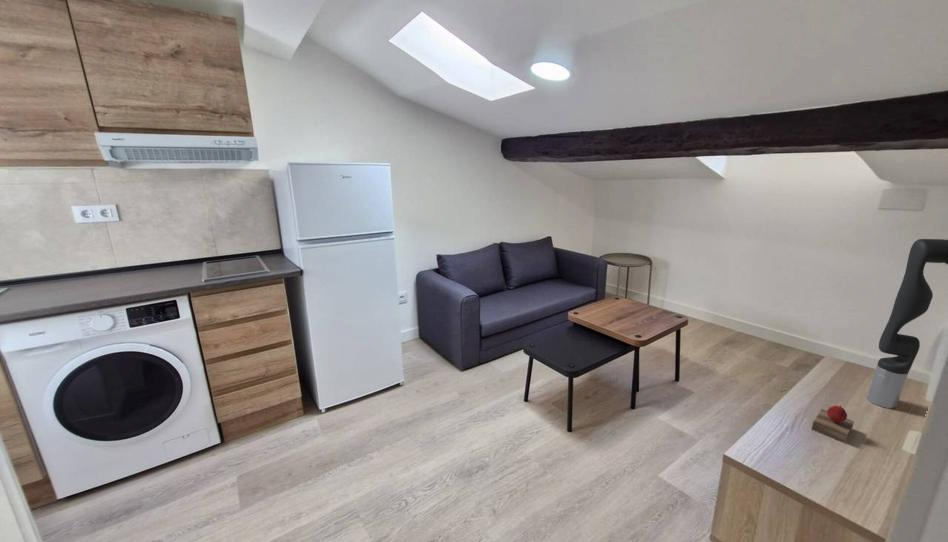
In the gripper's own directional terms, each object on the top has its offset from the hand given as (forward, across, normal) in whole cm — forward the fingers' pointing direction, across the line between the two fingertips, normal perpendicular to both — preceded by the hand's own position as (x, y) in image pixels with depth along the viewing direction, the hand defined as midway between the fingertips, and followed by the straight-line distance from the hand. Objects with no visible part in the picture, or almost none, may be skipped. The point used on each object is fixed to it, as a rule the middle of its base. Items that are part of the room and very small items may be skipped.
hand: (946, 383), depth 133 cm
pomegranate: (+25, +14, -21) cm, 36 cm away
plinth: (+29, +14, -21) cm, 39 cm away
